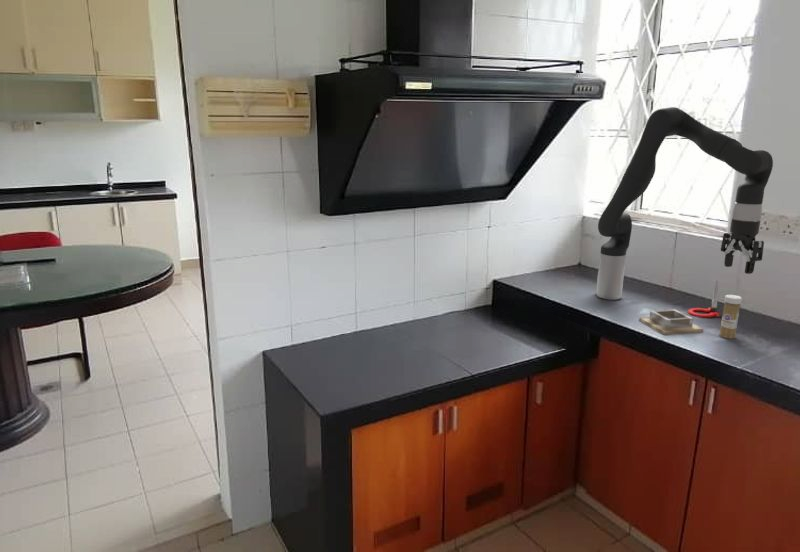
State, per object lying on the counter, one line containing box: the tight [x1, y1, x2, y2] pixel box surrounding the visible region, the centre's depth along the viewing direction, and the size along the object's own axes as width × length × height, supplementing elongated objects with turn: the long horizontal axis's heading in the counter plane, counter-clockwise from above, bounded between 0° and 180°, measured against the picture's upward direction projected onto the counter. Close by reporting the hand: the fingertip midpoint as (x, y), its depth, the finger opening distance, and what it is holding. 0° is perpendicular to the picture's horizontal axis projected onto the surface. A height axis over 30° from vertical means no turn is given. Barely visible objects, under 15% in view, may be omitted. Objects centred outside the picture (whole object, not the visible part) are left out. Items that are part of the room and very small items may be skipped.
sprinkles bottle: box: [718, 294, 743, 339], centre depth 182 cm, size 5×5×13 cm
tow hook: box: [687, 278, 721, 318], centre depth 203 cm, size 8×13×9 cm
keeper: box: [638, 308, 704, 336], centre depth 192 cm, size 14×14×4 cm
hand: (738, 269), depth 178 cm, fingers open, 8 cm apart
